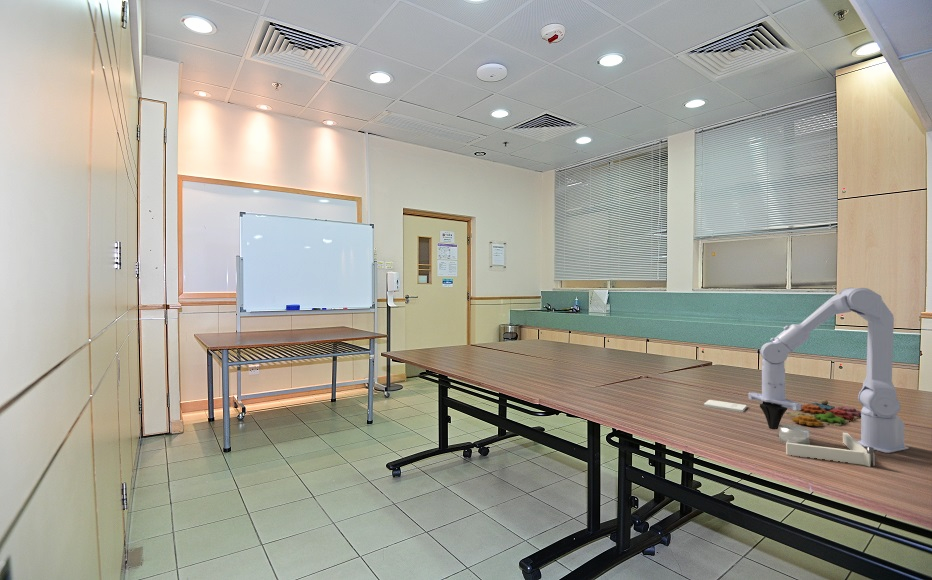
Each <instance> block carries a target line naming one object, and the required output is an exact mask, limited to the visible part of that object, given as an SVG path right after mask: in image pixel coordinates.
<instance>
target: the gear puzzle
mask: <svg viewBox="0 0 932 580" xmlns="http://www.w3.org/2000/svg"><path fill="white" fill-rule="evenodd" d="M820 402H821V403H818V402H815V401H814V403H808V404H804V405H803V406H802V405H801V410H798V411H794V412H792V411H787V412H785V413H786V414H787V416H788V417H791V421H792V422H794V423H799V425H806V426H810V427H811V426H812V427H813V426H815V427H820V426H824V424H826V426H829V425H828V424H831V425H830V426H834V425H835V426H834V427H841V425H846V424H847V423H850V422H849V421H851V422H852V421H855V420H857V419H856V418H858V419H860V416H861V410H857V409H856V408H855V407H852V406H845V405H843V406H842V405H841V406H838V407H836V406H833V405H830V404H829V401H828V400H827V399H821V401H820ZM835 407H836V408H835ZM850 419H852V420H850ZM854 419H855V420H854ZM842 423H844V424H842ZM845 423H846V424H845Z"/></svg>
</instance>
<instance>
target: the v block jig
mask: <svg viewBox="0 0 932 580" xmlns="http://www.w3.org/2000/svg"><path fill="white" fill-rule="evenodd" d="M857 441H858V440H856V439H855V438H854V437H852V436H851V435H850V434H849V433H848V432H842V444H843V443H844V444H845V445H846V446H847V447H848V448H849V449H850V450H849V449H848V448H847V447H846V446H845V445H844V444H843V445H844V446H845V447H846V448H847V449H845V448H844V449H843V448H838V447H837V448H835V447H828V446H820V445H812V444H809V445H804V444H796V443H788V442H786V443H785V454H786V456H791V455H792V457H799V456H800V457H801V458H807V457H810V458H809V459H814V458H817V459H818V460H822V459H825V460H824V461H830V460H833V461H832V462H838V461H840V462H839V463H845V462H848V463H847V464H853V465H860V466H866V467H868V468H869V467H871V468H872V467H873V468H874V466H875V453H874V452H875V450H874V448H873V447H864V446H862V445H860V444H859V443H858V442H857ZM817 459H816V460H817Z"/></svg>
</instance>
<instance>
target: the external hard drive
mask: <svg viewBox="0 0 932 580" xmlns="http://www.w3.org/2000/svg"><path fill="white" fill-rule="evenodd" d="M703 407H708V408H713V409H714V408H715V409H719V410H726V411H733V412H738V411H739V413H744V412H745V410H746V409H747V408H748V405H746V404H741V403H734V402H727V401H722V400H721V401H720V400H715V399H708V400H706V402H704V403H703Z"/></svg>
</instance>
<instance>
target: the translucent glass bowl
mask: <svg viewBox="0 0 932 580" xmlns="http://www.w3.org/2000/svg"><path fill="white" fill-rule="evenodd" d="M778 440H779V441H780V442H781V441H782V442H781V443H784V442H785V443H784V444H786V442H788V443H796V444H804V445H811V444H810V429H809V428H807V427H804V426H802V425H796V424H789V423H786V424H785V423H783V424H779V427H778Z"/></svg>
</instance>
